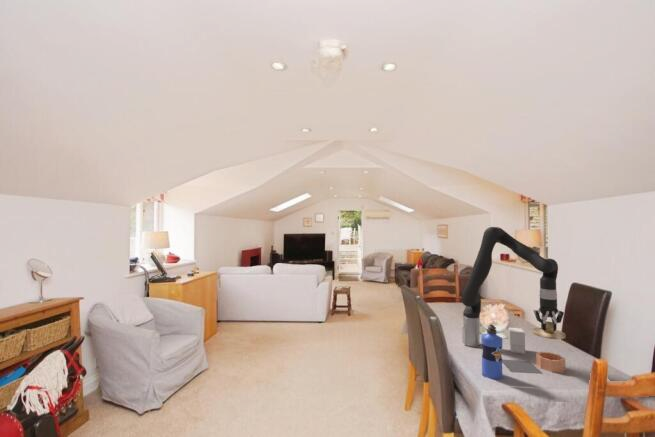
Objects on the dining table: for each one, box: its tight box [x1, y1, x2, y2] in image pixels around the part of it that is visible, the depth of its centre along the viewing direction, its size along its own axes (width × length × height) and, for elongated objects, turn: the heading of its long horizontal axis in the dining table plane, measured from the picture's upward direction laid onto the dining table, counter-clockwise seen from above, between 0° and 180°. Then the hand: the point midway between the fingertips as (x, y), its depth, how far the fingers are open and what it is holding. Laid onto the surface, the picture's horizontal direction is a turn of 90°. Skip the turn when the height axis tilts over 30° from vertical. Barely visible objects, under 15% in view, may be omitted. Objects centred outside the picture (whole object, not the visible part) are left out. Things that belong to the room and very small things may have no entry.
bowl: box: [535, 351, 566, 373], centre depth 171 cm, size 12×12×6 cm
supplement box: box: [508, 327, 526, 354], centre depth 193 cm, size 7×7×13 cm
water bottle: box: [480, 324, 503, 380], centre depth 163 cm, size 9×9×25 cm
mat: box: [502, 359, 544, 375], centre depth 172 cm, size 15×15×1 cm
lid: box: [532, 320, 566, 340], centre depth 171 cm, size 14×14×6 cm
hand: (548, 330), depth 171 cm, fingers closed on lid, 4 cm apart
